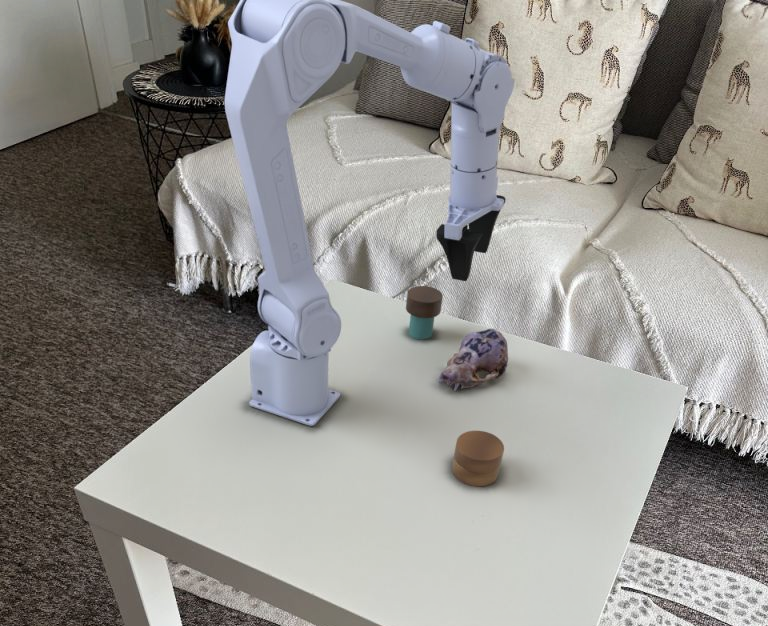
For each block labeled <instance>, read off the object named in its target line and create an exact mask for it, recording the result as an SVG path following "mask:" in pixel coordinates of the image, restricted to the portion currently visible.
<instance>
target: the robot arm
mask: <svg viewBox="0 0 768 626" xmlns="http://www.w3.org/2000/svg"><path fill="white" fill-rule="evenodd" d="M227 26H228V31H229V37H230V39H231V51H230V56H229V64H228V72H227V80H226V87H225V94H224V110H225V115H226V119H227V123H228V128H229V131H230V136H231V139H232V143H233V147H234V151H235V155H236V159H237V163H238V167H239V171H240V175H241V179H242V182H243V187H244V191H245V195H246V199H247V203H248V207H249V211H250V214H251V219H252V222H253V223H252V224H253V227H254V229H255V230H254V231H255V234H256V238H257V243H258V246H259V251H260V254H261V259H262V262H263V267H264V271H263V272H261V273H260V274H259V276H258V277H257V283H258V288H259V295H258V300H257V312H258V315H259V318H260V319H261V320H262V322H264V323H265V324H266V325H267V329H268V330H263V331H261V332H260V333H259V334H258V335H257V336H256V338H255V340H254V341H253V343H252V346H251V349H250V354H249V370H250V371H249V373H250V384H251V385H250V387H251V397H252V398H251V399H250V401H249V402H248V403H249V406H250V407H253V408H255V409H258V410H260V411H264V412H267V413H270V414H273V415H276V416H280V417H282V418H284V419H288V420H291V421H294V422H297V423H300V424H304V425H306V426H309V427H314V426H315V425H316V424H317V423H318V422H319V421H320V420H321V419H322V417H324V415H325V414H326V413H327V412H328V411H329V410H330V409H331V408H332V406H333V405H334V404H335V403H336V402H337V401H338V400H339V399H340V398H341V393H340V392H339V391H335V390H333V389H330V388H329V359H330V358H329V353H330V352H331V351H332V348H333V347H334V346H335V345H336V343H337V341H338V340H339V338H340V335H341V331H342V319H341V316H340V314H339V312H337V310H336V309H335V308H334V307H333V305H332V303H331V298H330V293H329V291H328V290H327V288H326V287H325V285H324V283H323V282H322V280H321V278H320V277H319V275H318V274H317V271H316V270H315V267H314V263H313V258H312V252H311V247H310V241H309V236H308V231H307V225H306V221H305V215H304V210H303V204H302V200H301V199H302V198H301V195H300V189H299V184H298V179H297V173H296V168H295V163H294V159H293V152H292V148H291V143H290V137H289V132H288V127H287V123H288V120H289V119H290V117H291V116H292V114H293V113H295V112H296V111H297V110H298V109H299V108H300V107H301V106H302V105H303V104H304V103H305V102H307V100H308V99H309V98H310V97H311V96H313V94H314V93H316V92H317V91H318V90H319V89H320V88H321V87H322V86H323V85H324V84H325V83H326V82H328V80H329V79H330V78H331V77H332V76H333V75H334V74H335V72H336V71H337V70H338V68H339V66H340V65H341V63H343V64H344V65H348V64H350V63H351V62H352V59H353V57H354V56H355V54H356V52H357V53H360V54H363V55H366V56H369V57H371V58H375V59H377V60H381V61H383V62H386V63H388V64H391V65H394V66H396V67H397V66H398V67H400V72H401V76H402V78H403V80H404V82H405V83H406V84H407V85H408V86H410V87H412V88H414V89H417V90H418V91H419V90H420V91H423V92H425V93H427V94H429V95H433V96H436V97H439V98H441V99H444V100H446V101H447V102H451V113H450V114H451V121H450V123H451V124H450V173H449V174H450V177H449V178H450V182H449V184H450V185H449V188H450V189H449V191H450V192H449V196H448V202H447V203H448V204H447V218H446V220H445V222H444V223H441V224H440V225H439V227H437V229H436V233H435V234H436V236H435V237H436V239H437V241H438V242H439V244H440V245H441V247H442V249H443V251H444V254H445V256H446V259H447V263H448V269H449V271H450V276H451V279H452V280H456V281H462V282H467V281H468V279H469V277H470V275H471V269H472V263H473V259H474V254H475V252H476V253H481V254H486V253H487V251H488V249H489V246H490V243H491V239H492V236H493V232H494V228H495V225H496V223H497V219H498V217H499V215H500V213H501V210H502V209H503V208H504V206H505V204H506V200H507V199H506V197H505V196H504V195H500V194H497V190H498V186H499V185H498V183H499V175H498V160H499V145H500V130H501V129H500V128H501V126H502V125H503V121H504V120H505V111H506V107H507V105H508V103H509V100H510V98H511V96H512V94H513V91H514V87H515V80H516V79H515V78H514V77H513V75H512V70H511V68H510V66H509V64H508V61H507V59H506V58H505V57H504V56H502V55H499V54H496V53H493V52H490V51H487V50H484V49H481V48H479V45H480V42H479V41H478V40H475V39H473V38H470V37H466V38H465V40H464V39H461V38H459V37H457V36H455V35H453V34H451V32H450V31H451V26H449V25H448V24H446V23H443V22H440V21H436V20H434V21H433V22H432V25H431V24H427V23H426V24H421V25H419V26H417V27H415V28H414V29H413V30H412V31H411V32H410V31H409V30H406V29H404V28H402V27H401V26H398V25H396V24H395V23H393V22H390V21H388V20H386V19H385V18H382V17H380V16H378V15H376V14H374V13H373V12H371V11H369V10H366V9H364V8H362V7H361V6H358V5H356V4H353V3H350V2H346V1H344V0H239V2H238V3H237V5H236V7H235V8H234V10H233V12H232V14H231V15H230V18H229V19H228V21H227Z"/></svg>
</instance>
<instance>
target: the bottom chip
mask: <svg viewBox="0 0 768 626" xmlns="http://www.w3.org/2000/svg"><path fill="white" fill-rule="evenodd" d="M500 469H501V465H500V466H499V467H498V469H496V470H495V471H492V472H489V473H474V472H470V471H467V470H465V469H464V468H462V467H461V466H459V465H458V463H457V462H456V460H455V457H454V456H453V459H452V466H451V471H452V475H453V476H454V477H455V478H456V479H457V481H459V482H461V483H463V484H465V485H468V486H470V487H471V486H473V487H485V486H489V485H491V484H493V483H495V482H496V481H497V479H498V477H499V474H500Z"/></svg>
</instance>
